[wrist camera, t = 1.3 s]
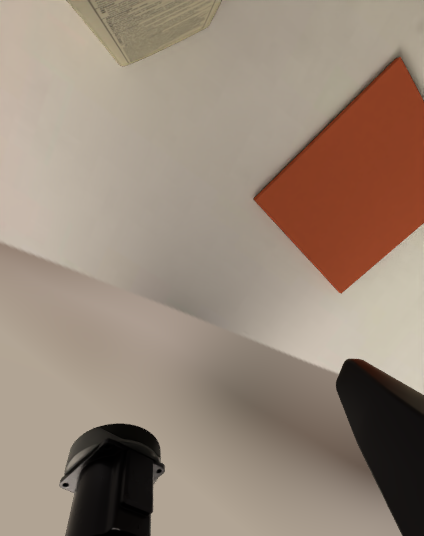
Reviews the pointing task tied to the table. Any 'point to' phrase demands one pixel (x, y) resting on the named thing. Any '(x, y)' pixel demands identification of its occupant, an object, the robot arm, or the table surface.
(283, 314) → the table surface
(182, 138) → the table surface
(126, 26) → the box
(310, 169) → the mat
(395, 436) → the robot arm
